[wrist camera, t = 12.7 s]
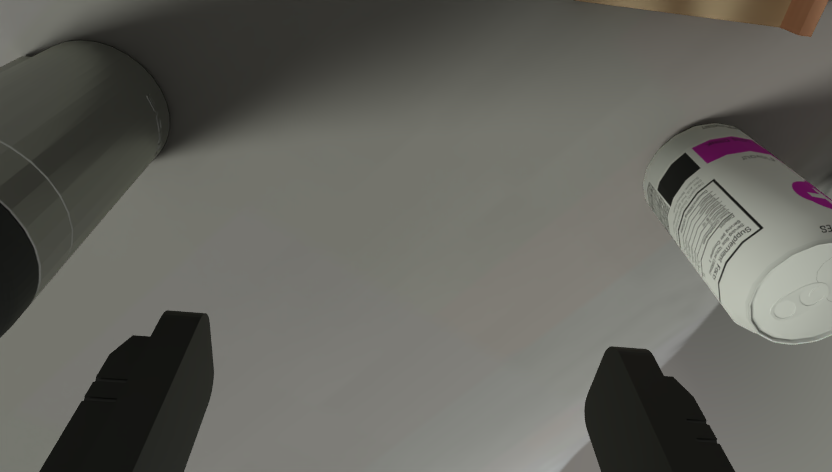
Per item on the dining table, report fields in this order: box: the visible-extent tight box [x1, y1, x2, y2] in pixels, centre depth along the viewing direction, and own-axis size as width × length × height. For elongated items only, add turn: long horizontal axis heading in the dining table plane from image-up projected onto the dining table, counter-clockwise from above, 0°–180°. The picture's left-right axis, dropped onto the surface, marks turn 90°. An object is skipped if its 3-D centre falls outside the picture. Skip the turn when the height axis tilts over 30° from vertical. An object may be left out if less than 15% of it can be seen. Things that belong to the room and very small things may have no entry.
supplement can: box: [643, 123, 832, 345], centre depth 37 cm, size 8×8×15 cm
